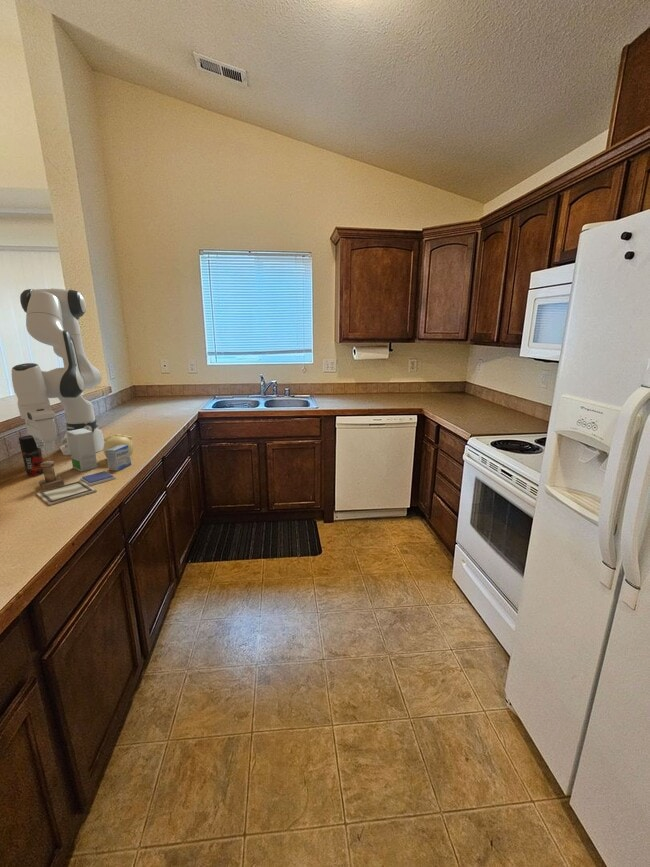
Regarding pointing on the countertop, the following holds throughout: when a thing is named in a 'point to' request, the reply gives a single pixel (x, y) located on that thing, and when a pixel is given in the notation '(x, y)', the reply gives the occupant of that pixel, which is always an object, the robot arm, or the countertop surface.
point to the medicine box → (118, 457)
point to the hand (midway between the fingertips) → (45, 449)
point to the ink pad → (97, 478)
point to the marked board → (65, 492)
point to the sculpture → (118, 442)
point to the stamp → (50, 476)
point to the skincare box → (82, 449)
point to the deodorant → (31, 456)
